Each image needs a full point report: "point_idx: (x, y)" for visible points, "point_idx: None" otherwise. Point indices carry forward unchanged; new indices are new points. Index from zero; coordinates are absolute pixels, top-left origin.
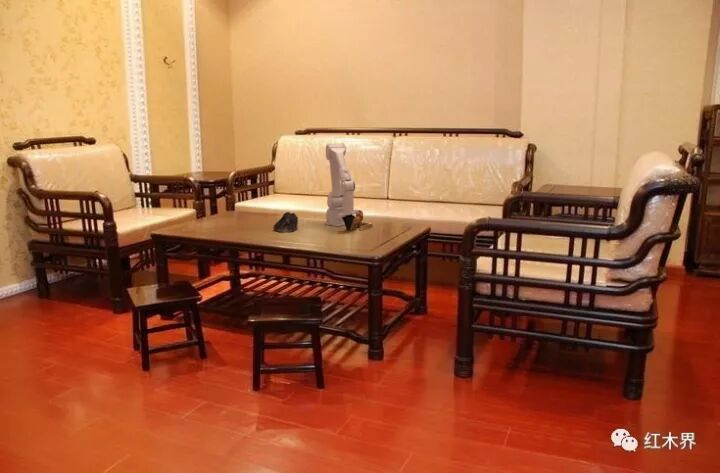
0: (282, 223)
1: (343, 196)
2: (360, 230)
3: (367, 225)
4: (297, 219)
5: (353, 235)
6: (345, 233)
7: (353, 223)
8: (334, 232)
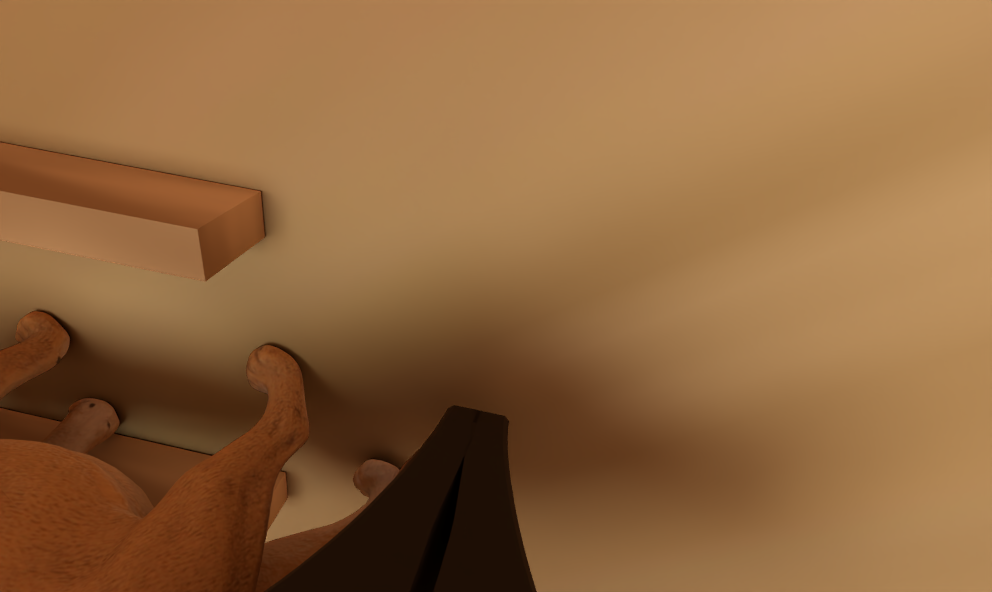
0: None
1: None
2: (260, 208)
3: None
4: None
5: (920, 92)
6: (717, 388)
7: (226, 485)
8: (703, 579)
